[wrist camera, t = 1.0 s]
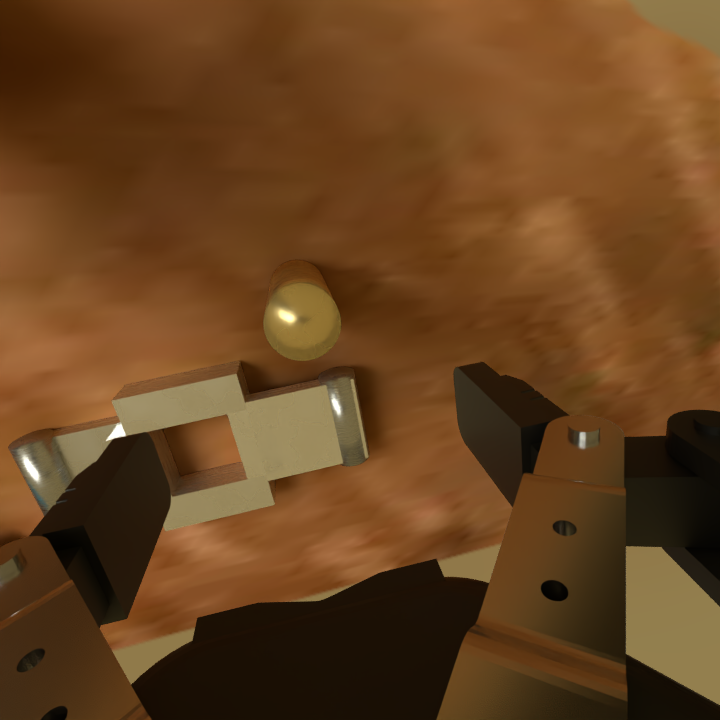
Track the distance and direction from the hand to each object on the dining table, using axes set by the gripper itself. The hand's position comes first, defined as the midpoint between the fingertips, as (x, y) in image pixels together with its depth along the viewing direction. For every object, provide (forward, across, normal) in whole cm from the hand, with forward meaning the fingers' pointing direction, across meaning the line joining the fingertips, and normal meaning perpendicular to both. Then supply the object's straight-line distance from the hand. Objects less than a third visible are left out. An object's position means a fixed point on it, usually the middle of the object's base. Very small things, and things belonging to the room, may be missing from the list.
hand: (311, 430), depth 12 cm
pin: (+18, 0, 0) cm, 18 cm away
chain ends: (+18, +8, +9) cm, 22 cm away
